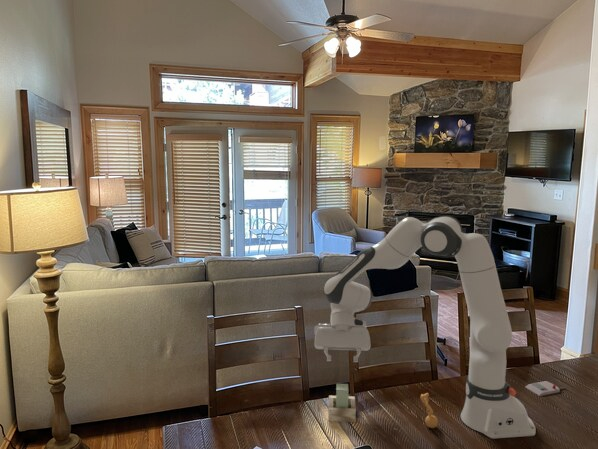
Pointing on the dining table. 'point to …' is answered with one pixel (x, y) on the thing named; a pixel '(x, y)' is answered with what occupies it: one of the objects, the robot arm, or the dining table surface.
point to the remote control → (543, 388)
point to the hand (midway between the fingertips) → (342, 361)
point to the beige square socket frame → (342, 410)
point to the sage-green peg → (341, 395)
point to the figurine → (430, 419)
